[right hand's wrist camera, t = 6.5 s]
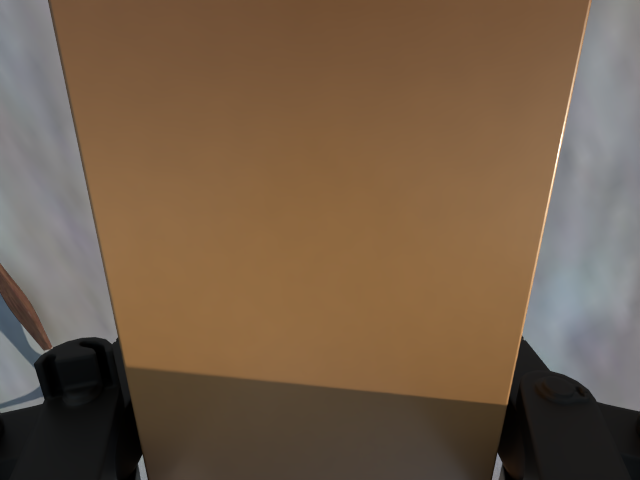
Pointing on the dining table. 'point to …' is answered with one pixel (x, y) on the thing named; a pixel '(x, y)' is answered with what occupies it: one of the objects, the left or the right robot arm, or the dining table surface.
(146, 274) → the bar
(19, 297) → the fork
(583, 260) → the dining table surface
